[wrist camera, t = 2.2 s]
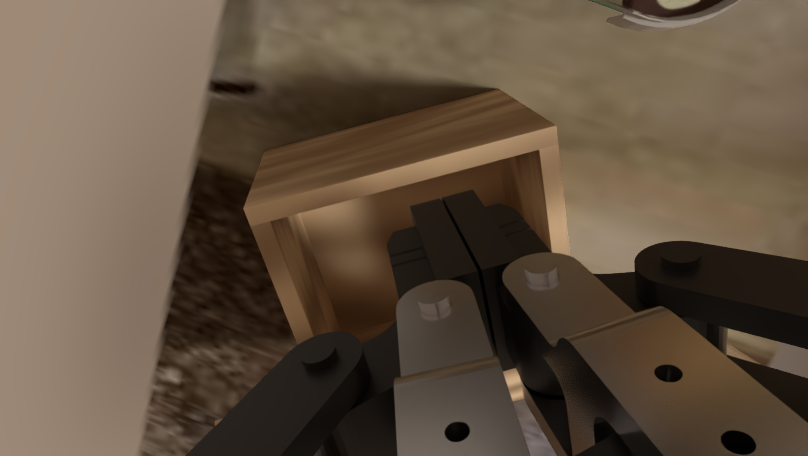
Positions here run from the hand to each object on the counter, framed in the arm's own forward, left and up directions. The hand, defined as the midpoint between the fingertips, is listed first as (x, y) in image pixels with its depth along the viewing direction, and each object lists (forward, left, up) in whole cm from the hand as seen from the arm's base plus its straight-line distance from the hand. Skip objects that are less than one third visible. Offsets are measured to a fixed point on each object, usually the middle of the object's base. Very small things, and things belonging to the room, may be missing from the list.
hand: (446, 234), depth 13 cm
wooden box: (+11, 0, -24) cm, 27 cm away
